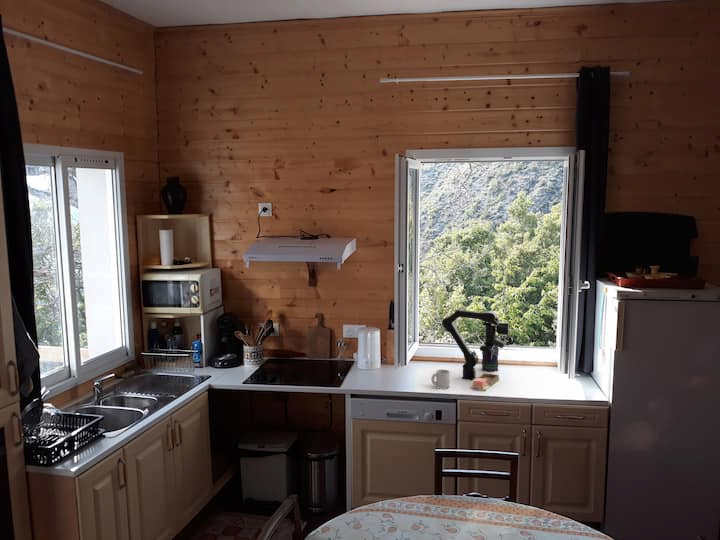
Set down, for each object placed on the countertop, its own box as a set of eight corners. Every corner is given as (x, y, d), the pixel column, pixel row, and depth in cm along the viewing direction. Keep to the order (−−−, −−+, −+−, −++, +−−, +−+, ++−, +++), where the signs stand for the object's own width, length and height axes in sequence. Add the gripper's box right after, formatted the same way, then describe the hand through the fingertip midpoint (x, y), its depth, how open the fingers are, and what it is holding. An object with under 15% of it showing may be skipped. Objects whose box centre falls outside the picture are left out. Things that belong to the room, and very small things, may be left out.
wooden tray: (470, 388, 333) (470, 383, 333) (484, 377, 353) (484, 372, 353) (485, 391, 329) (485, 385, 328) (498, 380, 348) (498, 375, 348)
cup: (450, 388, 334) (450, 373, 332) (432, 389, 333) (432, 373, 332) (448, 384, 341) (448, 369, 340) (430, 385, 340) (430, 369, 339)
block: (473, 387, 332) (473, 380, 332) (476, 384, 337) (476, 377, 337) (482, 389, 329) (482, 382, 329) (486, 386, 334) (486, 379, 334)
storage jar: (479, 370, 368) (479, 346, 366) (484, 366, 376) (485, 343, 375) (495, 372, 363) (495, 348, 361) (500, 368, 371) (500, 345, 369)
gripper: (499, 338, 333) (498, 366, 335) (509, 331, 349) (508, 358, 350) (479, 336, 338) (479, 363, 340) (490, 329, 354) (490, 355, 356)
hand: (490, 360), depth 347 cm, fingers closed
